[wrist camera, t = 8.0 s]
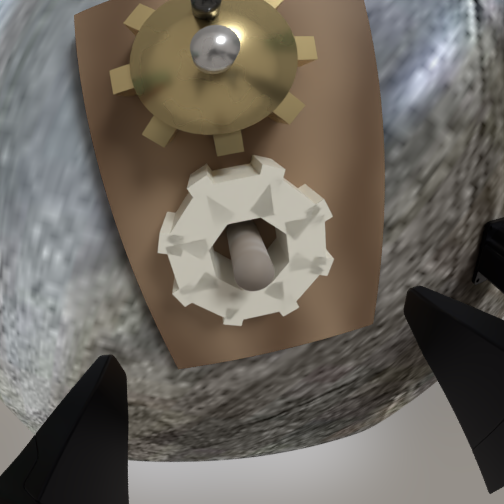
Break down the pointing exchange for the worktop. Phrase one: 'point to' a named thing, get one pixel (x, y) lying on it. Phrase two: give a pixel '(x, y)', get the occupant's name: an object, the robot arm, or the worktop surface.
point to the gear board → (255, 143)
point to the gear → (212, 68)
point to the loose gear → (237, 210)
